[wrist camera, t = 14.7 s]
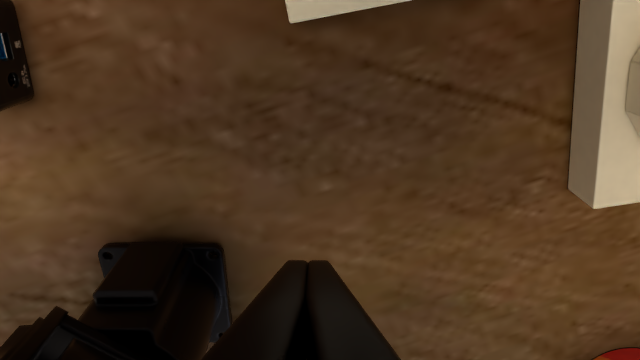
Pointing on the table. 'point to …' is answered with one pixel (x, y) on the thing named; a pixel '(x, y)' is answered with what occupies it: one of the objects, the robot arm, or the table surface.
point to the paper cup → (621, 354)
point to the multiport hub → (12, 60)
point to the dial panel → (329, 7)
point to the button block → (607, 105)
